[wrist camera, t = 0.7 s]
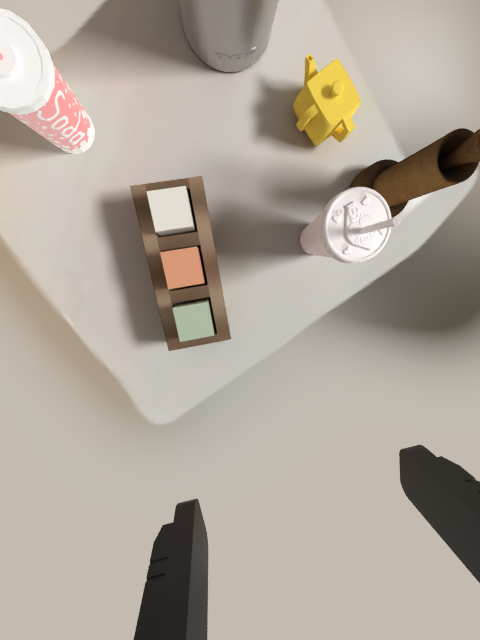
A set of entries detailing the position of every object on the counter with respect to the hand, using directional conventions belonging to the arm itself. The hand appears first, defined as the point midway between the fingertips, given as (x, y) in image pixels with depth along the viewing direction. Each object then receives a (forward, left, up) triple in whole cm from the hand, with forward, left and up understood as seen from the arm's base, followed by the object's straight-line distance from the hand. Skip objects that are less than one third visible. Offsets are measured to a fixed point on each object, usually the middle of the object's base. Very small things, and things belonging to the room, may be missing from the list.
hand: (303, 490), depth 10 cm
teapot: (-24, +12, -24) cm, 36 cm away
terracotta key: (-10, -5, -21) cm, 23 cm away
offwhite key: (-15, -5, -21) cm, 26 cm away
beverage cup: (-26, -14, -24) cm, 37 cm away
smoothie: (-11, +11, -24) cm, 28 cm away
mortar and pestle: (-15, +19, -24) cm, 34 cm away
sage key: (-4, -5, -21) cm, 22 cm away
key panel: (-10, -5, -24) cm, 26 cm away
